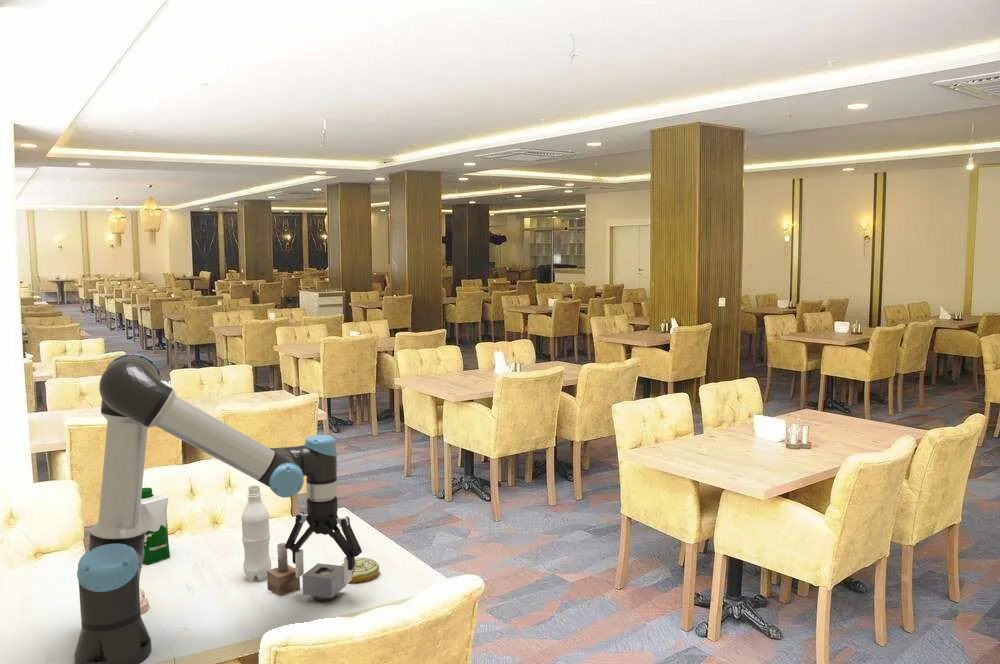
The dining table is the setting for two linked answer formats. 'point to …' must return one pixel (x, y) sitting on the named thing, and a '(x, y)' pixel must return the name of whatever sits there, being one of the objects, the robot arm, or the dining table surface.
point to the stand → (282, 575)
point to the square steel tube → (323, 580)
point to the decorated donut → (364, 569)
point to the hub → (324, 599)
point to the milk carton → (154, 526)
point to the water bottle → (255, 536)
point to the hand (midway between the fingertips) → (323, 578)
